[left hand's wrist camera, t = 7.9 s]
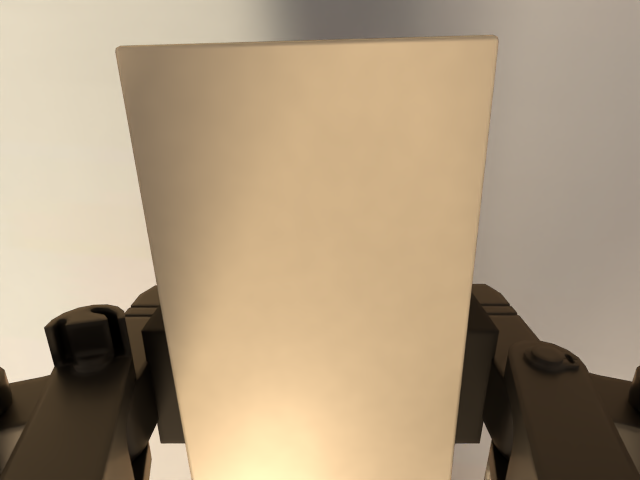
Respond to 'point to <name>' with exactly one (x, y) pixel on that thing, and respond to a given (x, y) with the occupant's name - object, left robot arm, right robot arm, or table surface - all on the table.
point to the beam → (314, 245)
